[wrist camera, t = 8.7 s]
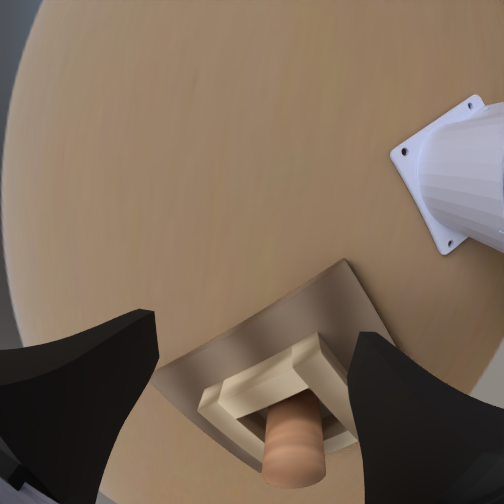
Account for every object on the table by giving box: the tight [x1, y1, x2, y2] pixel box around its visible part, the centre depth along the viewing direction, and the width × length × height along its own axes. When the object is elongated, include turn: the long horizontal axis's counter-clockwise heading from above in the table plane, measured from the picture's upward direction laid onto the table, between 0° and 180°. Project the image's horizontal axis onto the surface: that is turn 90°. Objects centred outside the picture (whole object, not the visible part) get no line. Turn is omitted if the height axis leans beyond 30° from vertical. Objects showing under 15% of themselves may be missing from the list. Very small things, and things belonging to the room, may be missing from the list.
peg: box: [261, 388, 326, 489], centre depth 17 cm, size 4×4×7 cm
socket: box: [149, 258, 396, 473], centre depth 20 cm, size 18×16×4 cm
